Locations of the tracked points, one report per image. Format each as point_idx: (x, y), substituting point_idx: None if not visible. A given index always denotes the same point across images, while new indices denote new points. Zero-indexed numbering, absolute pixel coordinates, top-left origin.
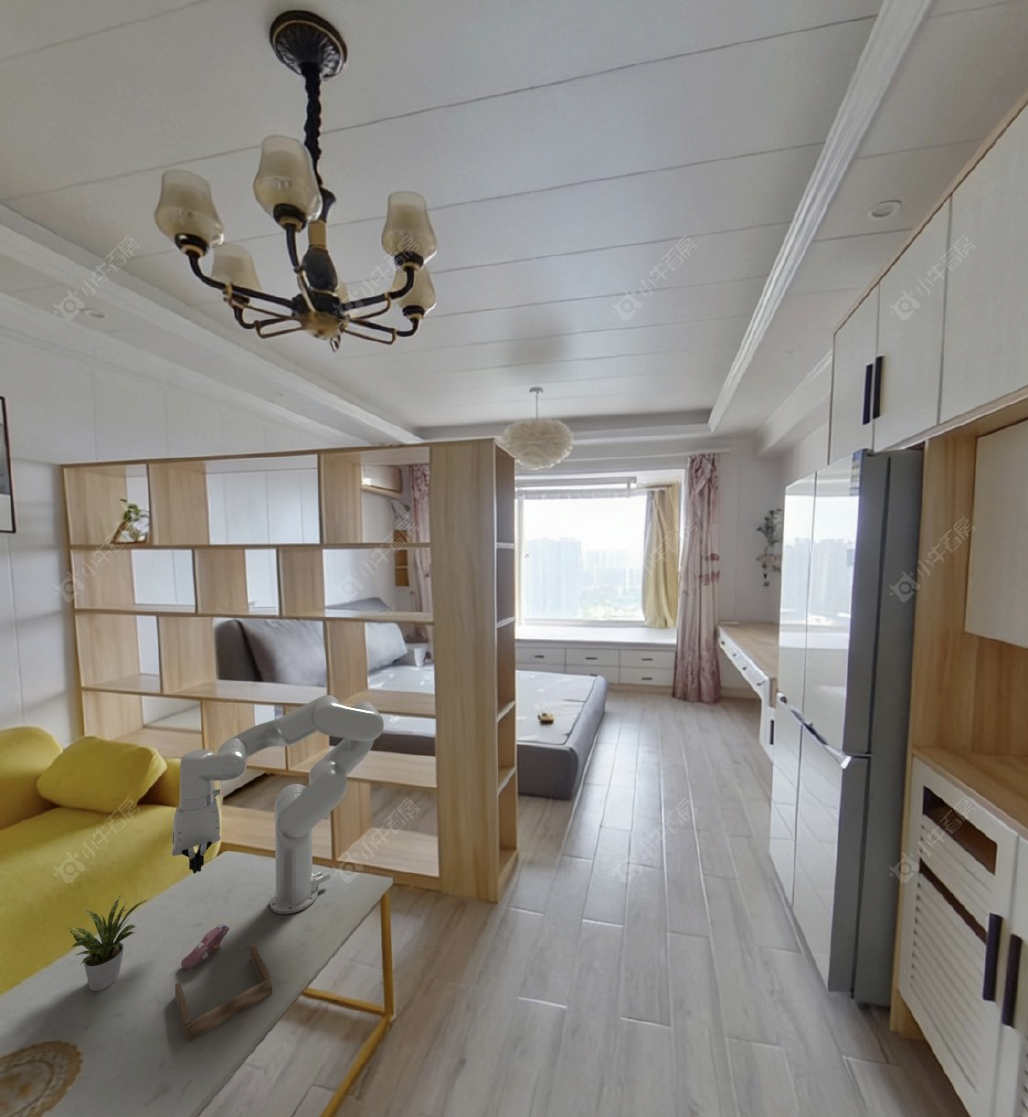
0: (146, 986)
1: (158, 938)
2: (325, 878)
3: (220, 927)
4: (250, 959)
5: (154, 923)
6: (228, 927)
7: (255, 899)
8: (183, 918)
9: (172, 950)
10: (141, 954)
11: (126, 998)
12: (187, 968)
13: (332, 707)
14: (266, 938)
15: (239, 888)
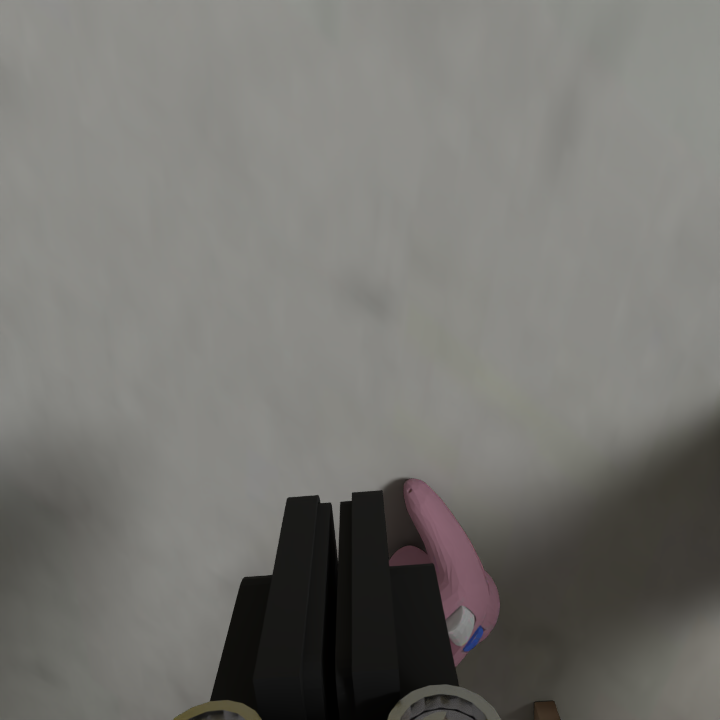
0: (130, 595)
1: (154, 278)
2: None
3: (456, 636)
4: (534, 706)
5: (119, 92)
6: (496, 620)
7: (710, 275)
8: (290, 168)
9: (229, 433)
10: (80, 361)
11: (59, 612)
12: None
13: None
14: (634, 629)
15: (672, 55)
